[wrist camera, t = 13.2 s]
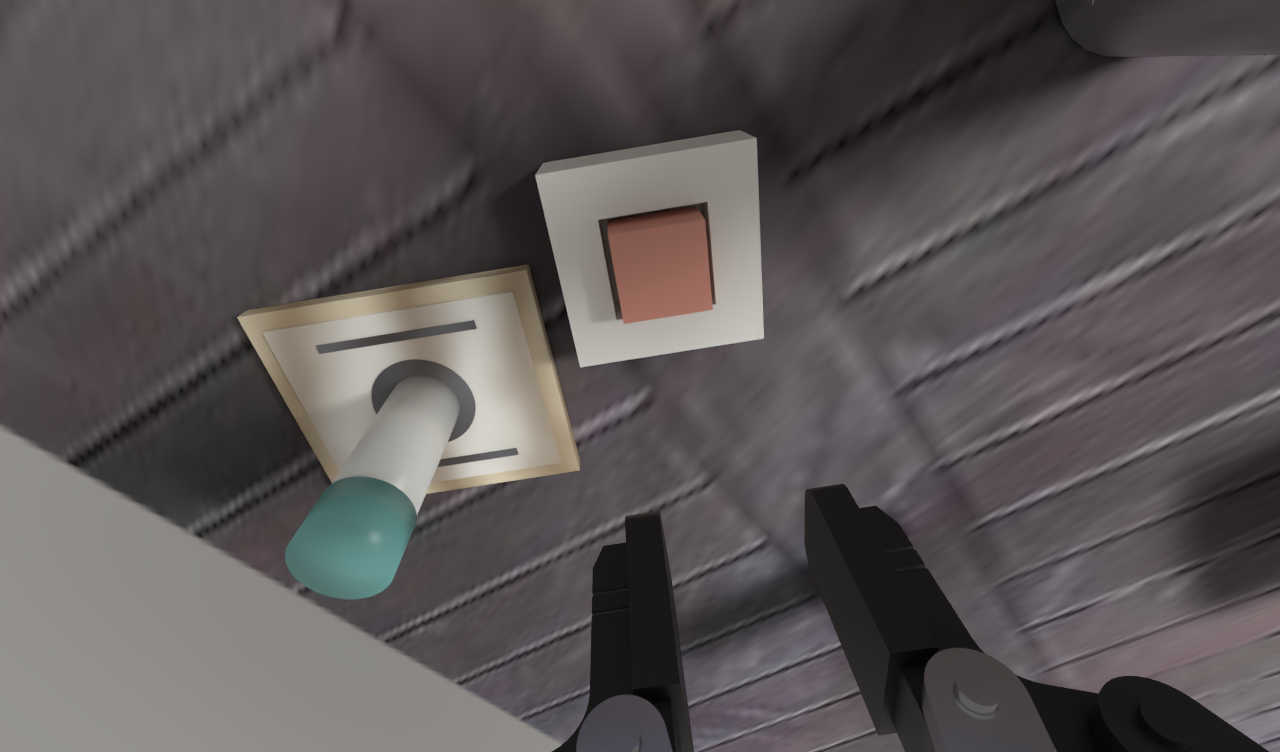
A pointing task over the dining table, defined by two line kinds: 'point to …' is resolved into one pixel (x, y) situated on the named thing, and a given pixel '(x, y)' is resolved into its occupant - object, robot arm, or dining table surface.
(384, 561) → the marker
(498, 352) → the paper board
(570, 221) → the button housing
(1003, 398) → the dining table surface
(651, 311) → the button
